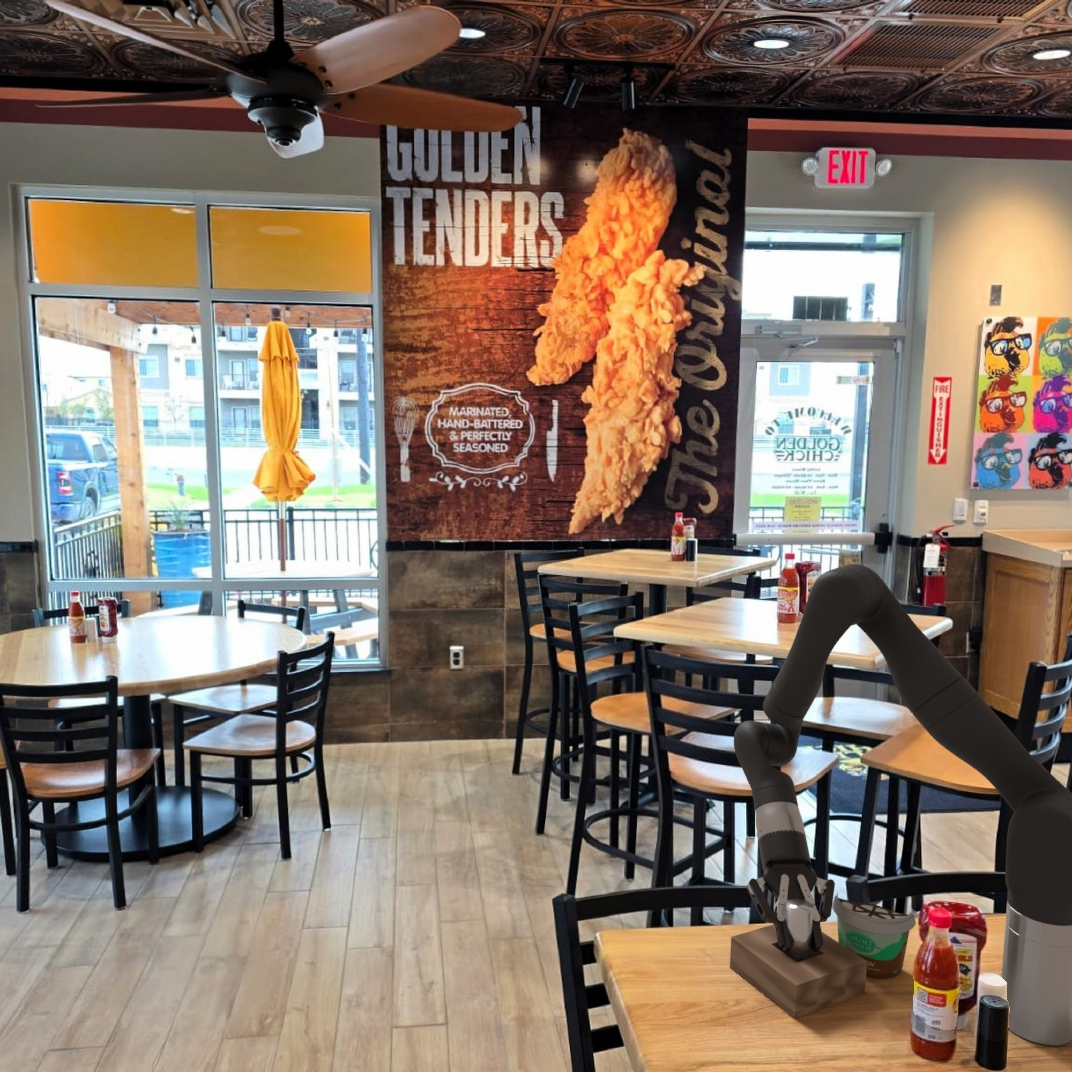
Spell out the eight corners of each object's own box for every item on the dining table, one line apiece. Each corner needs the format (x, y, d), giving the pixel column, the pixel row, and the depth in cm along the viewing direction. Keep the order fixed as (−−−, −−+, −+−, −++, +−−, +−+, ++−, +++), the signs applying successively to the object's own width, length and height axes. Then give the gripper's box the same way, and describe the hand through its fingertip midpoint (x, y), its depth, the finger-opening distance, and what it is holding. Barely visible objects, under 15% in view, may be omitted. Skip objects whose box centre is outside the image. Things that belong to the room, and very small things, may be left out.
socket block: (797, 946, 145) (798, 916, 145) (865, 993, 133) (866, 961, 132) (729, 967, 139) (731, 936, 138) (794, 1018, 126) (796, 985, 126)
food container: (823, 969, 139) (826, 907, 138) (830, 950, 144) (833, 891, 143) (908, 993, 133) (912, 929, 132) (912, 972, 139) (916, 910, 138)
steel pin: (796, 957, 138) (800, 896, 137) (815, 971, 135) (819, 908, 134) (777, 964, 137) (780, 901, 136) (795, 978, 133) (799, 914, 132)
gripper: (743, 827, 141) (760, 943, 130) (831, 828, 141) (857, 943, 131) (733, 845, 147) (749, 956, 136) (818, 845, 147) (841, 957, 136)
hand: (802, 949), depth 133 cm, fingers closed on steel pin, 4 cm apart
